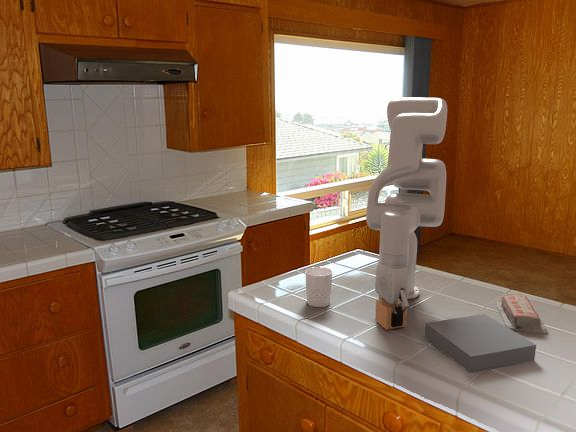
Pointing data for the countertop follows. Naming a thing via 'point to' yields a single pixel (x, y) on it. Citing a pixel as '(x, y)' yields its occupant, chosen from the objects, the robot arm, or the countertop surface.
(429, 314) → the countertop surface
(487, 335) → the plinth
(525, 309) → the packaged product
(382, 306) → the cube
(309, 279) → the white cup
